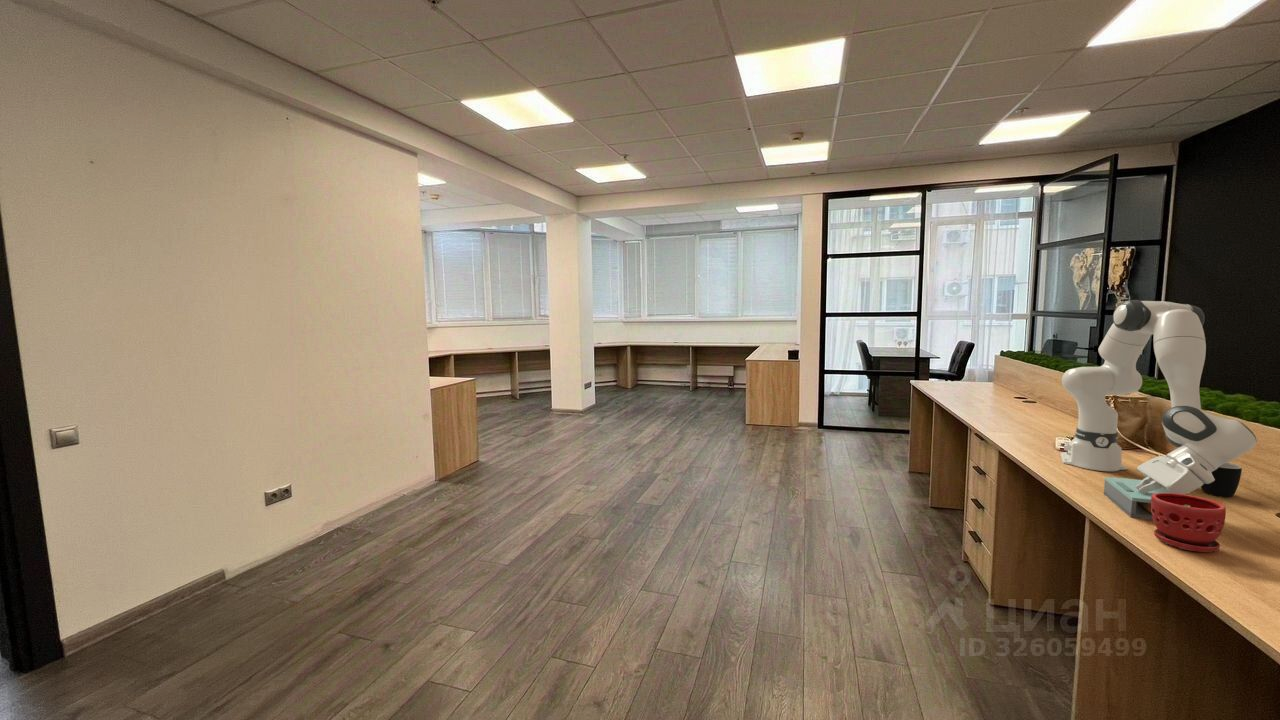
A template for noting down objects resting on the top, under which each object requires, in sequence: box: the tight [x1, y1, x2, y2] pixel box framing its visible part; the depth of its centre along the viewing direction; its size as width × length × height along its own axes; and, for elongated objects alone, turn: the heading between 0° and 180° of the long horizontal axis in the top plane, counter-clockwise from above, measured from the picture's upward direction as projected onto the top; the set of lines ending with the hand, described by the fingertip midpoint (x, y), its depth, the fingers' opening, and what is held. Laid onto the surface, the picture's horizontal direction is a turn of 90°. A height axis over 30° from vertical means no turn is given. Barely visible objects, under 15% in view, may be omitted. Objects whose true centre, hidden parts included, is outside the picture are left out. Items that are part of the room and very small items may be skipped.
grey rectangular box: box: [1103, 479, 1153, 521], centre depth 153 cm, size 20×12×5 cm, turn 154°
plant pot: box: [1151, 493, 1227, 553], centre depth 129 cm, size 13×13×12 cm
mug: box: [1200, 462, 1243, 498], centre depth 164 cm, size 12×9×10 cm
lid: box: [1104, 476, 1190, 507], centre depth 152 cm, size 20×12×1 cm, turn 154°
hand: (1139, 490), depth 150 cm, fingers closed, pressing on lid
